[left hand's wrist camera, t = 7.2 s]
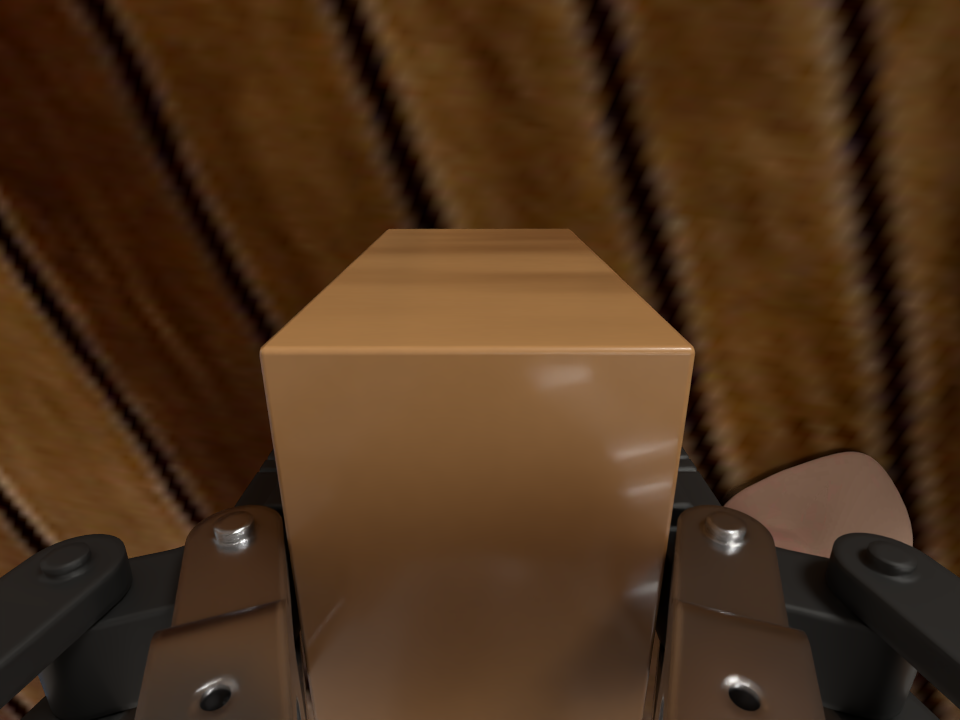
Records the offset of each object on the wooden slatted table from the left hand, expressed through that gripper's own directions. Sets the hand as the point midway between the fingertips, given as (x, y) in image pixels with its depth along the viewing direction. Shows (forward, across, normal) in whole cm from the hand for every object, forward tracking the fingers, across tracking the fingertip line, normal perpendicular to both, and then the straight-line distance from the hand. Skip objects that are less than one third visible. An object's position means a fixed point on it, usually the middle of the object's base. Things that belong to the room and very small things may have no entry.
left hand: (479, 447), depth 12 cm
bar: (+5, 0, -8) cm, 10 cm away
